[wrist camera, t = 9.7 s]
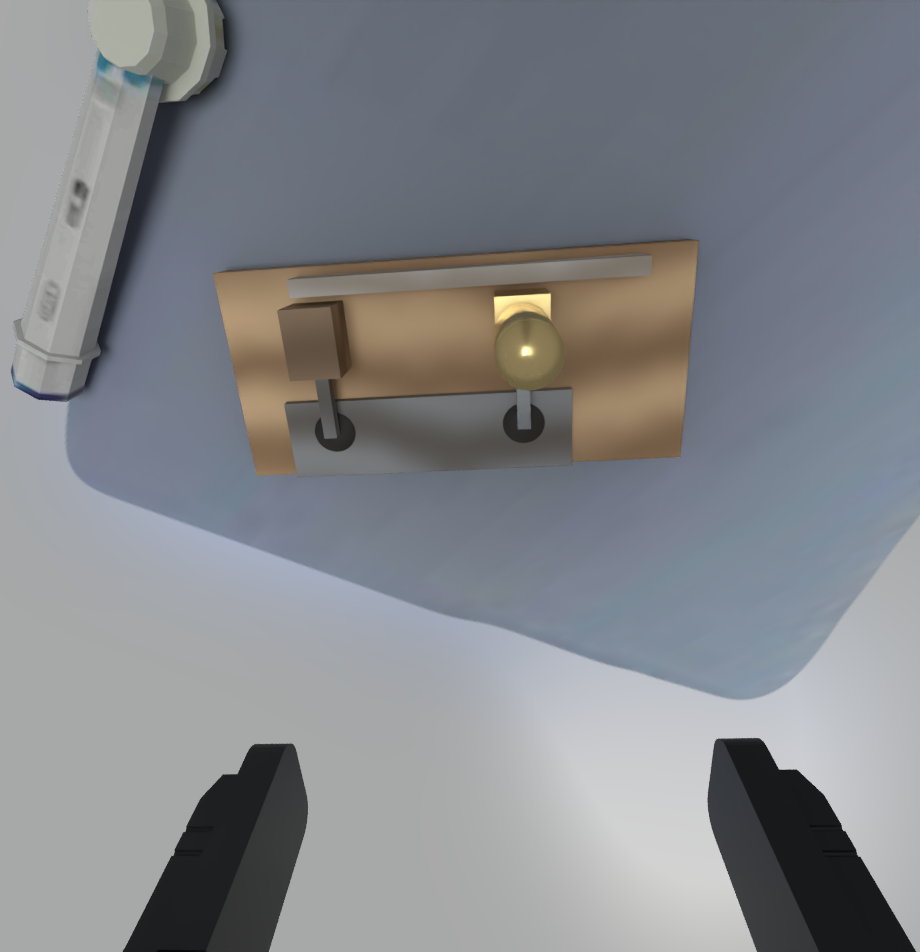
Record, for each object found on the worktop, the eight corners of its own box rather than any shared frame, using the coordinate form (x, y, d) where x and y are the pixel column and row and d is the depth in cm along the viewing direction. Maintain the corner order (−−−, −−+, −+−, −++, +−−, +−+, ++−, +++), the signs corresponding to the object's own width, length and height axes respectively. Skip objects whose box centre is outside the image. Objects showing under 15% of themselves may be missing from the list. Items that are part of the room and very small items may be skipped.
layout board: (226, 270, 37) (197, 276, 33) (687, 239, 35) (710, 241, 31) (266, 464, 42) (245, 487, 38) (671, 446, 40) (689, 468, 36)
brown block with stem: (293, 303, 36) (277, 310, 33) (342, 300, 35) (330, 307, 33) (314, 430, 39) (301, 446, 36) (360, 427, 39) (350, 444, 36)
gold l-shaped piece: (491, 291, 35) (492, 313, 26) (547, 287, 34) (565, 308, 26) (497, 422, 38) (499, 478, 29) (548, 419, 38) (564, 476, 29)
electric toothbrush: (-20, 372, 36) (64, -106, 24) (57, 339, 42) (155, -61, 30) (62, 417, 37) (182, -23, 25) (126, 379, 43) (249, 6, 31)
